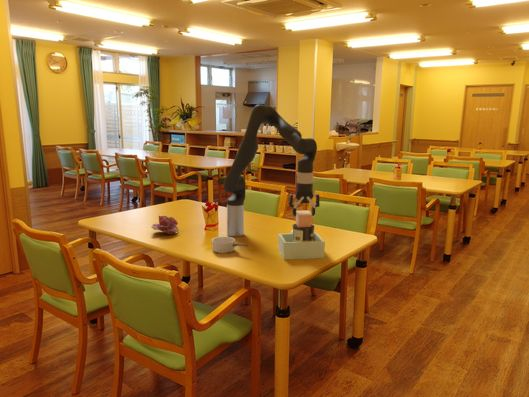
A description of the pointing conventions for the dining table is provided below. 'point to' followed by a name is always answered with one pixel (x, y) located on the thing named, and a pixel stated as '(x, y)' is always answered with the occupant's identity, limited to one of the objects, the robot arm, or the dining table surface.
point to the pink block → (303, 218)
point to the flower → (166, 225)
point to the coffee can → (303, 233)
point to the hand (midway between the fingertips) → (303, 215)
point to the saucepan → (224, 244)
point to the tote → (300, 247)
